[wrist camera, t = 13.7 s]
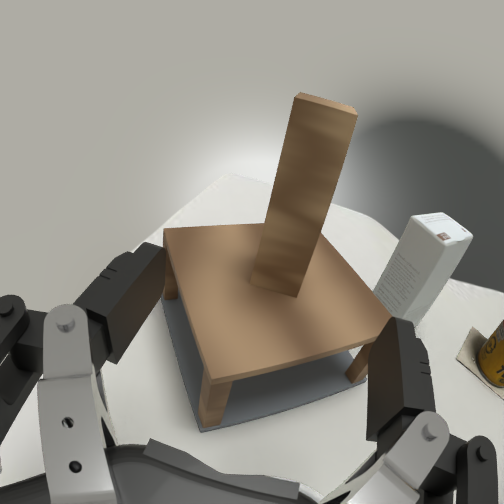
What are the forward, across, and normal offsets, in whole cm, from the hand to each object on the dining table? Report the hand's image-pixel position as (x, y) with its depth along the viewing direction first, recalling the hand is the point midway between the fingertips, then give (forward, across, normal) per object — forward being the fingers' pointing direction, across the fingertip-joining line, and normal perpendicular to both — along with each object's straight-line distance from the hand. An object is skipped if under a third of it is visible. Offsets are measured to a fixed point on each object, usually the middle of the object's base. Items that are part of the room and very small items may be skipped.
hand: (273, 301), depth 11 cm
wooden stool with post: (+10, 0, +13) cm, 16 cm away
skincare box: (+16, -13, +14) cm, 25 cm away
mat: (+10, 0, +14) cm, 17 cm away
